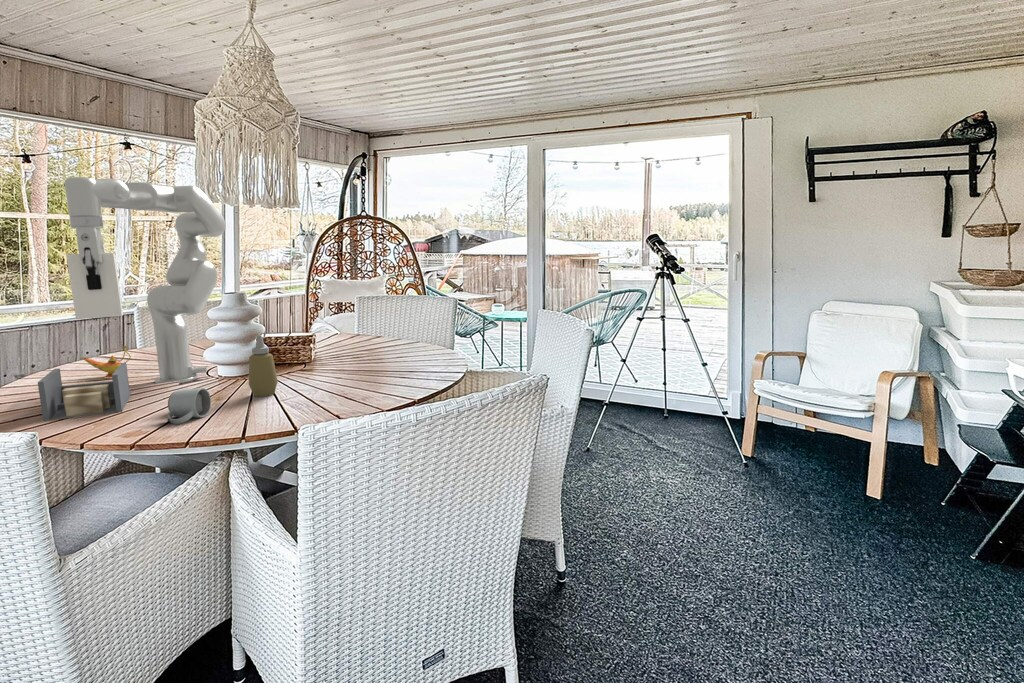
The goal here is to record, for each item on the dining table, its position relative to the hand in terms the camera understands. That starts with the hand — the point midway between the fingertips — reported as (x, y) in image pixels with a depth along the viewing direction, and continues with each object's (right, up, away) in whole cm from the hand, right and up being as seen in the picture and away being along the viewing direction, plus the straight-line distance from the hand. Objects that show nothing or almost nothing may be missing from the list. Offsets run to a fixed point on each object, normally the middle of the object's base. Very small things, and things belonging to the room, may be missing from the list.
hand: (96, 288), depth 174 cm
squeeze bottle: (+44, -31, +10) cm, 55 cm away
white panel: (0, -8, +1) cm, 8 cm away
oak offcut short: (+6, -34, -12) cm, 36 cm away
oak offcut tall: (+4, -33, -9) cm, 35 cm away
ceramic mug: (+33, -35, -13) cm, 50 cm away
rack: (+3, -35, -7) cm, 35 cm away
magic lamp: (-22, -27, +38) cm, 52 cm away
